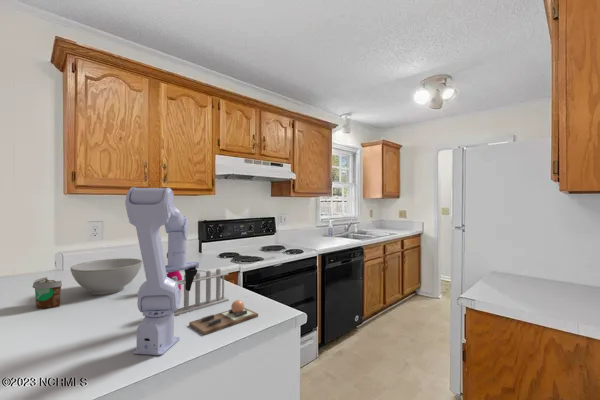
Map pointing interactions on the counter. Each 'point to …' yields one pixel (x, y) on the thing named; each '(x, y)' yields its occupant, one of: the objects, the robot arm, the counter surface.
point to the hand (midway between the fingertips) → (176, 292)
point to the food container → (47, 293)
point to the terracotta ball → (237, 306)
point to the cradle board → (221, 320)
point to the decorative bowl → (106, 274)
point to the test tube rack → (197, 291)
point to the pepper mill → (175, 273)
